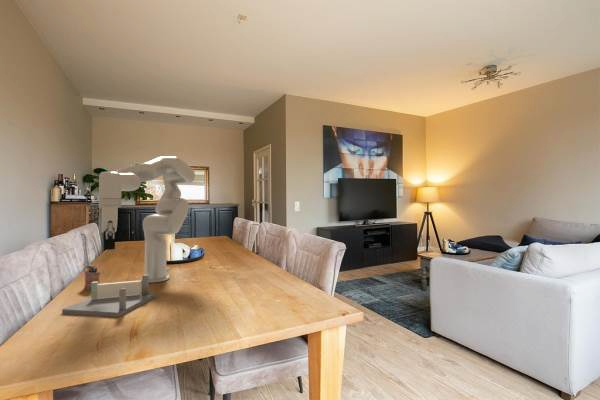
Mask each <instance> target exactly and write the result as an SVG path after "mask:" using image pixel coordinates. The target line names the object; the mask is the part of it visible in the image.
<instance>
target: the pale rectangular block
mask: <svg viewBox="0 0 600 400" xmlns="http://www.w3.org/2000/svg"><path fill="white" fill-rule="evenodd" d="M121 288H126V295H136V294H141V292H142V281H141V279H140V280H129V281H118V282H117V281H116V282H105V283H104V282H103V283H99V284H98V281H95V282H92V283H91V290H90V293H91V297H90V298H91V299H97V298H107V297H116V296H119V289H121Z"/></svg>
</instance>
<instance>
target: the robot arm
mask: <svg viewBox="0 0 600 400" xmlns="http://www.w3.org/2000/svg"><path fill="white" fill-rule="evenodd" d="M159 177H162V180H163V185H164V191H163V192H162V194H161V196H160V198H159V200H158V201H157V203H156V204H155V208H154V209H155V214H148V215H146V217H144V219H143V221H142V230H143V234H144V275H149V283H160V282H165V281H167V280H169V279H170V275H169V274H168V272H170V270H171V268H170V267H167V245H168V244H167V240H166V237H165V235H169V236H170V235H176V234H178V233H179V231H180V230H181V228H182V226H183V224H184V221H185V220H186V218H187V217H188V213H189V210H190V209H189V208H190V206H189V201H187V199H186V198H183V197H181V196H182V191H181V189H180V188H179V185H178V184H190V183H193V182H194V181H195V178H196V172H195V170H194V168H192V167H191V166H190V165H189V164H188V163H187V162H186V161H184V160H183V159H182V158H180V157H179V156H158V157H156V158H154V159H151V160H149V161H145V162H143V163H139V164H135V165H131V166H127V167H123V168H120V169H117V170H114V171H102V172H100V173H99V175H98V207H99V208H101V233H104V232H105V237H104V249H105V250H106V251H107V250H108V251H109V250H111V251H112V250H115V248H116V238H115V233H116V232H117V230H118V229H117V228H118V218H119V217H118V213H119V212H118V211H119V209H118V208H121V207H122V192H133V191H136V190H138V189H139V188H140V187H141V184H142V183H146V182H151V181H153V180H155V179H158V178H159ZM140 280H141V282H142V277H141V278H140Z"/></svg>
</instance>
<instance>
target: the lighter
mask: <svg viewBox="0 0 600 400" xmlns="http://www.w3.org/2000/svg"><path fill="white" fill-rule="evenodd" d="M86 269H87V270H85V271H84V289H85V290H88V291H91V283H92V282H95V281H98V284H100V274H101V272H100V271H99V270H98V266H96V265H91V264H89V265H86Z"/></svg>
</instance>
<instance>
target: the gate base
mask: <svg viewBox="0 0 600 400" xmlns="http://www.w3.org/2000/svg"><path fill="white" fill-rule="evenodd" d="M141 278H142V281H141V294H136V295H126V288H121V289H119V296H116V297H107V298H97V299H91V297H90V298H87V299H84V300H82V301H79V302H77V303H74V304H72V305H69V306H67V307H64V308H62V309H61V314H62V315H78V316H91V317H92V316H95V317H106V318H107V317H108V318H109V317H111V318H120V317H122V316H124V315H125V314H128V313H129V312H131V311H133V310H135V309H137V308H139V307H140V306H142V305H144V304H146V303H147V302H150V301H152V300H153V299H156V298H157V292H149V275H145V274H142V275H141Z"/></svg>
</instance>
